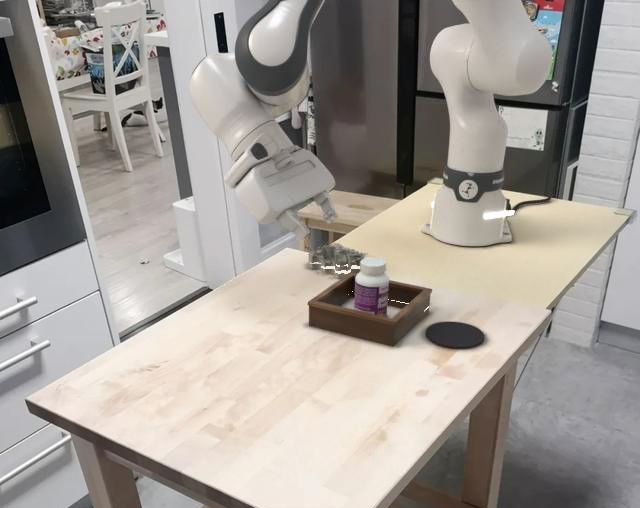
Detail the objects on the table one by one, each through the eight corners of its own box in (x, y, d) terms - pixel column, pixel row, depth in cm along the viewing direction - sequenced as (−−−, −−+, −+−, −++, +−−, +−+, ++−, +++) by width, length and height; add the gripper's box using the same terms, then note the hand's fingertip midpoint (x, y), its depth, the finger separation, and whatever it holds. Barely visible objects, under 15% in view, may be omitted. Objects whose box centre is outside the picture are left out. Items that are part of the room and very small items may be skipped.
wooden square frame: (349, 294, 124) (350, 271, 122) (430, 312, 118) (432, 288, 116) (307, 326, 113) (307, 301, 111) (393, 347, 107) (395, 322, 105)
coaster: (431, 320, 116) (431, 318, 116) (487, 328, 113) (488, 326, 113) (420, 343, 109) (420, 341, 108) (479, 353, 106) (479, 350, 106)
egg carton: (302, 266, 136) (301, 244, 133) (331, 257, 140) (331, 236, 138) (340, 282, 129) (341, 260, 127) (370, 272, 133) (371, 250, 131)
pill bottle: (384, 327, 113) (388, 269, 108) (351, 324, 114) (353, 266, 109) (388, 313, 118) (392, 257, 112) (356, 310, 118) (358, 254, 113)
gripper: (288, 156, 121) (337, 222, 122) (216, 182, 106) (274, 258, 107) (311, 130, 116) (362, 200, 118) (240, 155, 101) (300, 234, 103)
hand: (320, 228), depth 112 cm, fingers open, 8 cm apart
